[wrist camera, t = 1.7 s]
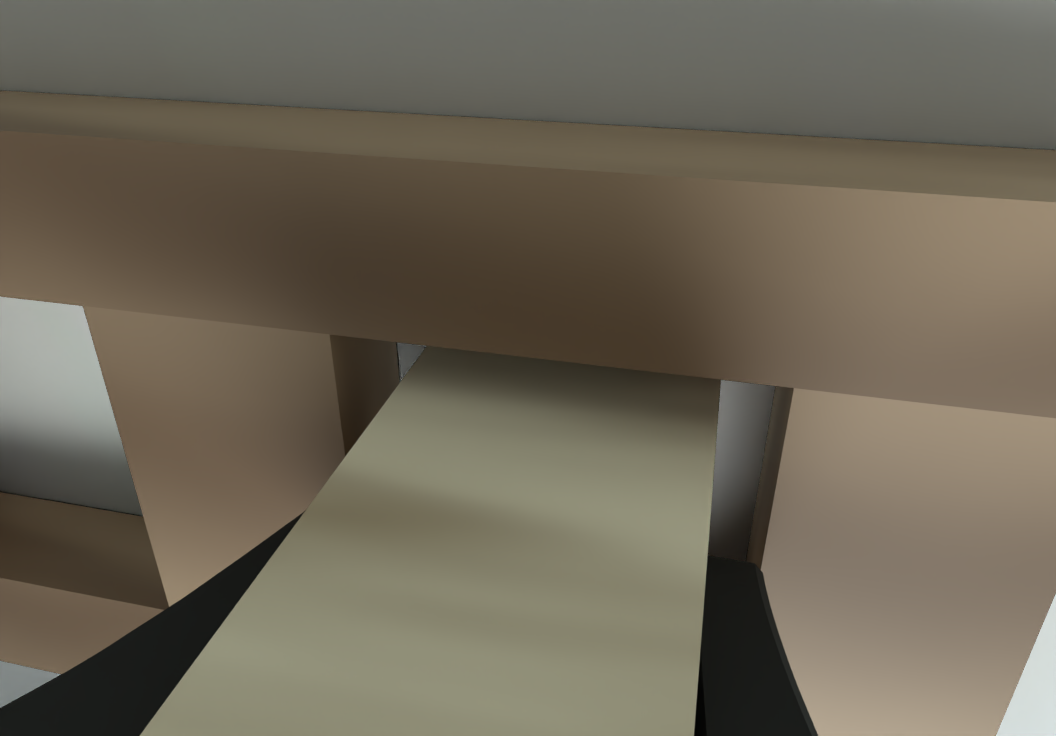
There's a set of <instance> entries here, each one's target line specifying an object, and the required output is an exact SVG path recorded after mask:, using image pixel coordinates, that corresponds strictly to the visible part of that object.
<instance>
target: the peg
mask: <svg viewBox="0 0 1056 736" xmlns="http://www.w3.org/2000/svg"><path fill="white" fill-rule="evenodd" d="M720 385H721V380H719V379H711V378H702V377H693V376H685V375H676V374H667V373H659V372H650V371H641V370H633V369H624V368H616V367H607V366H598V365H590V364H581V363H572V362H564V361H555V360H546V359H538V358H529V357H520V356H512V355H503V354H494V353H486V352H477V351H468V350H460V349H451V348H442V347H434V346H427V347H426V348H425V349H424V351H423V352H422V353H421V355H420V356H419V357H418V359H417V360H416V362H415V363H414V364H413V366H412V367H411V368H410V370H409V371H408V372H407V374H406V375H405V376H404V378H403V379H402V381H401V382H400V383H399V385H398V386H397V387H396V389H395V390H394V391H393V393H392V394H391V395H390V397H389V398H388V400H387V401H386V402H385V404H384V405H383V406H382V408H381V409H380V410H379V412H378V413H377V414H376V416H375V417H374V418H373V420H372V421H371V423H370V424H369V425H368V427H367V428H366V429H365V431H364V432H363V433H362V435H361V436H360V437H359V439H358V440H357V442H356V443H355V444H354V446H353V447H352V448H351V450H350V451H349V452H348V454H347V455H346V456H345V458H344V459H343V461H342V462H341V463H340V465H339V466H338V467H337V469H336V470H335V471H334V473H333V474H332V475H331V477H330V478H329V480H328V481H327V482H326V484H325V485H324V486H323V488H322V489H321V490H320V492H319V493H318V494H317V496H316V497H315V499H314V500H313V501H312V503H311V504H310V505H309V507H308V508H307V509H306V511H305V512H304V513H303V515H302V516H301V518H300V519H299V520H298V522H297V523H296V524H295V526H294V527H293V528H292V530H291V531H290V532H289V534H288V535H287V536H286V538H285V539H284V541H283V542H282V543H281V545H280V546H279V547H278V549H277V550H276V551H275V553H274V554H273V555H272V557H271V558H270V560H269V561H268V562H267V564H266V565H265V566H264V568H263V569H262V570H261V572H260V573H259V574H258V576H257V577H256V579H255V580H254V581H253V583H252V584H251V585H250V587H249V588H248V589H247V591H246V592H245V593H244V595H243V596H242V598H241V599H240V600H239V602H238V603H237V604H236V606H235V607H234V608H233V610H232V611H231V612H230V614H229V615H228V617H227V618H226V619H225V621H224V622H223V623H222V625H221V626H220V627H219V629H218V630H217V631H216V633H215V634H214V636H213V637H212V638H211V640H210V641H209V642H208V644H207V645H206V646H205V648H204V649H203V650H202V652H201V653H200V654H199V656H198V657H197V659H196V660H195V661H194V663H193V664H192V665H191V667H190V668H189V669H188V671H187V672H186V673H185V675H184V676H183V678H182V679H181V680H180V682H179V683H178V684H177V686H176V687H175V688H174V690H173V691H172V692H171V694H170V695H169V697H168V698H167V699H166V701H165V702H164V703H163V705H162V706H161V707H160V709H159V710H158V711H157V713H156V714H155V716H154V717H153V718H152V720H151V721H150V722H149V724H148V725H147V726H146V728H145V729H144V730H143V732H142V733H141V735H140V736H694V728H695V715H696V702H697V689H698V675H699V662H700V649H701V636H702V622H703V609H704V596H705V583H706V570H707V556H708V543H709V530H710V517H711V504H712V490H713V477H714V464H715V451H716V438H717V424H718V411H719V398H720Z"/></svg>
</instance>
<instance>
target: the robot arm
mask: <svg viewBox="0 0 1056 736" xmlns="http://www.w3.org/2000/svg"><path fill="white" fill-rule="evenodd" d="M304 512H305V511H304ZM304 512H303V513H304ZM303 513H301V514H300V515H299V516H297V517H296V518H294V519H293V520H292V521H290V522H289V523H288V524H286V525H285V526H283V527H282V528H281V529H279V530H278V531H277V532H275V533H274V534H272V535H271V536H270V537H268V538H267V539H266V540H264V541H263V542H261V543H260V544H259V545H257V546H256V547H255V548H253V549H252V550H250V551H249V552H248V553H246V554H245V555H243V556H242V557H241V558H239V559H238V560H236V561H235V562H234V563H232V564H231V565H229V566H228V567H226V568H225V569H224V570H222V571H221V572H219V573H218V574H216V575H215V576H214V577H212V578H211V579H209V580H208V581H207V582H205V583H204V584H202V585H201V586H199V587H198V588H197V589H195V590H194V591H192V592H191V593H189V594H188V595H187V596H185V597H184V598H182V599H181V600H179V601H178V602H176V603H174V604H173V605H171V606H170V607H168V608H167V609H165V610H164V611H162V612H161V613H159V614H157V615H156V616H154V617H153V618H151V619H150V620H148V621H147V622H145V623H143V624H142V625H140V626H139V627H137V628H136V629H134V630H133V631H131V632H130V633H128V634H126V635H125V636H123V637H122V638H120V639H119V640H117V641H116V642H114V643H112V644H111V645H109V646H108V647H106V648H105V649H103V650H102V651H100V652H98V653H97V654H95V655H93V656H92V657H90V658H88V659H87V660H85V661H83V662H82V663H80V664H78V665H77V666H75V667H73V668H72V669H70V670H68V671H66V672H65V673H63V674H61V675H59V676H58V677H56V678H54V679H53V680H51V681H49V682H47V683H45V684H44V685H42V686H40V687H38V688H36V689H34V690H33V691H31V692H29V693H27V694H25V695H24V696H22V697H20V698H18V699H16V700H14V701H13V702H11V703H9V704H7V705H5V706H3V707H2V708H0V736H140V735H141V733H142V732H143V730H144V729H145V728H146V726H147V725H148V724H149V722H150V721H151V720H152V718H153V717H154V716H155V714H156V713H157V711H158V710H159V709H160V707H161V706H162V705H163V703H164V702H165V701H166V699H167V698H168V697H169V695H170V694H171V692H172V691H173V690H174V688H175V687H176V686H177V684H178V683H179V682H180V680H181V679H182V678H183V676H184V675H185V673H186V672H187V671H188V669H189V668H190V667H191V665H192V664H193V663H194V661H195V660H196V659H197V657H198V656H199V654H200V653H201V652H202V650H203V649H204V648H205V646H206V645H207V644H208V642H209V641H210V640H211V638H212V637H213V636H214V634H215V633H216V631H217V630H218V629H219V627H220V626H221V625H222V623H223V622H224V621H225V619H226V618H227V617H228V615H229V614H230V612H231V611H232V610H233V608H234V607H235V606H236V604H237V603H238V602H239V600H240V599H241V598H242V596H243V595H244V593H245V592H246V591H247V589H248V588H249V587H250V585H251V584H252V583H253V581H254V580H255V579H256V577H257V576H258V574H259V573H260V572H261V570H262V569H263V568H264V566H265V565H266V564H267V562H268V561H269V560H270V558H271V557H272V555H273V554H274V553H275V551H276V550H277V549H278V547H279V546H280V545H281V543H282V542H283V541H284V539H285V538H286V536H287V535H288V534H289V532H290V531H291V530H292V528H293V527H294V526H295V524H296V523H297V522H298V520H299V519H300V518H301V516H302V515H303ZM694 736H818V734H817V731H816V729H815V727H814V724H813V722H812V719H811V717H810V715H809V712H808V710H807V707H806V705H805V702H804V700H803V698H802V695H801V693H800V690H799V688H798V685H797V683H796V680H795V678H794V675H793V672H792V670H791V667H790V664H789V661H788V659H787V656H786V653H785V650H784V647H783V644H782V641H781V638H780V635H779V632H778V629H777V626H776V623H775V620H774V616H773V613H772V609H771V606H770V602H769V598H768V594H767V590H766V586H765V581H764V575H763V572H762V571H761V570H760V569H759V568H758V566H757V565H756V564H755V563H750V562H744V561H738V560H731V559H725V558H719V557H712V556H707V570H706V583H705V596H704V609H703V622H702V636H701V649H700V662H699V675H698V689H697V702H696V715H695V728H694Z"/></svg>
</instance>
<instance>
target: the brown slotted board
mask: <svg viewBox="0 0 1056 736" xmlns="http://www.w3.org/2000/svg"><path fill="white" fill-rule="evenodd" d="M0 296H1V297H10V298H18V299H27V300H36V301H44V302H53V303H62V304H70V305H79V306H83V308H84V312H85V315H86V319H87V322H88V326H89V329H90V333H91V336H92V340H93V343H94V347H95V350H96V354H97V357H98V361H99V364H100V368H101V371H102V375H103V378H104V382H105V385H106V389H107V392H108V395H109V399H110V402H111V406H112V409H113V413H114V416H115V420H116V423H117V427H118V430H119V434H120V437H121V441H122V444H123V448H124V451H125V455H126V458H127V462H128V465H129V469H130V472H131V476H132V479H133V483H134V486H135V490H136V493H137V497H138V500H139V504H140V507H141V510H142V514H143V517H142V516H136V515H130V514H124V513H119V512H113V511H107V510H101V509H95V508H90V507H84V506H78V505H72V504H66V503H60V502H55V501H49V500H43V499H37V498H31V497H25V496H20V495H14V494H8V493H2V492H0V661H4V662H8V663H13V664H18V665H22V666H27V667H31V668H36V669H40V670H45V671H49V672H54V673H58V674H63V673H65V672H66V671H68V670H70V669H72V668H73V667H75V666H77V665H78V664H80V663H82V662H83V661H85V660H87V659H88V658H90V657H92V656H93V655H95V654H97V653H98V652H100V651H102V650H103V649H105V648H106V647H108V646H109V645H111V644H112V643H114V642H116V641H117V640H119V639H120V638H122V637H123V636H125V635H126V634H128V633H130V632H131V631H133V630H134V629H136V628H137V627H139V626H140V625H142V624H143V623H145V622H147V621H148V620H150V619H151V618H153V617H154V616H156V615H157V614H159V613H161V612H162V611H164V610H165V609H167V608H168V607H170V606H171V605H173V604H174V603H176V602H178V601H179V600H181V599H182V598H184V597H185V596H187V595H188V594H189V593H191V592H192V591H194V590H195V589H197V588H198V587H199V586H201V585H202V584H204V583H205V582H207V581H208V580H209V579H211V578H212V577H214V576H215V575H216V574H218V573H219V572H221V571H222V570H224V569H225V568H226V567H228V566H229V565H231V564H232V563H234V562H235V561H236V560H238V559H239V558H241V557H242V556H243V555H245V554H246V553H248V552H249V551H250V550H252V549H253V548H255V547H256V546H257V545H259V544H260V543H261V542H263V541H264V540H266V539H267V538H268V537H270V536H271V535H272V534H274V533H275V532H277V531H278V530H279V529H281V528H282V527H283V526H285V525H286V524H288V523H289V522H290V521H292V520H293V519H294V518H296V517H297V516H299V515H300V514H301V513H303V512H304V511H306V509H307V508H308V507H309V505H310V504H311V503H312V501H313V500H314V499H315V497H316V496H317V494H318V493H319V492H320V490H321V489H322V488H323V486H324V485H325V484H326V482H327V481H328V480H329V478H330V477H331V475H332V474H333V473H334V471H335V470H336V469H337V467H338V466H339V465H340V463H341V462H342V461H343V459H344V458H345V456H346V455H347V454H348V452H349V451H350V450H351V448H352V447H353V446H354V444H355V443H356V442H357V440H358V439H359V437H360V436H361V435H362V433H363V432H364V431H365V429H366V428H367V427H368V425H369V424H370V423H371V421H372V420H373V418H374V417H375V416H376V414H377V413H378V412H379V410H380V409H381V408H382V406H383V405H384V404H385V402H386V401H387V400H388V398H389V397H390V395H391V394H392V393H393V391H394V390H395V389H396V387H397V386H398V385H399V383H400V382H399V370H398V359H397V347H396V342H399V343H408V344H417V345H425V346H434V347H442V348H451V349H460V350H468V351H477V352H486V353H494V354H503V355H512V356H520V357H529V358H538V359H546V360H555V361H564V362H572V363H581V364H590V365H598V366H607V367H616V368H624V369H633V370H641V371H650V372H659V373H667V374H676V375H685V376H693V377H702V378H711V379H719V380H728V381H737V382H745V383H754V384H763V385H771V386H775V392H774V398H773V404H772V410H771V416H770V422H769V428H768V433H767V439H766V445H765V451H764V457H763V463H762V469H761V475H760V481H759V486H758V492H757V498H756V504H755V510H754V516H753V522H752V528H751V533H750V539H749V545H748V551H747V557H746V562H750V563H755V564H756V565H757V566H758V568H759V569H760V570H761V571H762V572H763V575H764V581H765V586H766V590H767V594H768V598H769V602H770V606H771V609H772V613H773V616H774V620H775V623H776V626H777V629H778V632H779V635H780V638H781V641H782V644H783V647H784V650H785V653H786V656H787V659H788V661H789V664H790V667H791V670H792V672H793V675H794V678H795V680H796V683H797V685H798V688H799V690H800V693H801V695H802V698H803V700H804V702H805V705H806V707H807V710H808V712H809V715H810V717H811V719H812V722H813V724H814V727H815V729H816V731H817V734H818V736H996V734H997V732H998V729H999V727H1000V724H1001V722H1002V720H1003V717H1004V715H1005V713H1006V710H1007V708H1008V705H1009V703H1010V701H1011V698H1012V696H1013V694H1014V691H1015V689H1016V686H1017V684H1018V682H1019V679H1020V677H1021V674H1022V672H1023V670H1024V667H1025V665H1026V663H1027V660H1028V658H1029V655H1030V653H1031V651H1032V648H1033V646H1034V644H1035V641H1036V639H1037V636H1038V634H1039V632H1040V629H1041V627H1042V625H1043V622H1044V620H1045V617H1046V615H1047V613H1048V610H1049V608H1050V606H1051V603H1052V601H1053V598H1054V596H1055V594H1056V150H1043V149H1026V148H1008V147H990V146H973V145H955V144H937V143H920V142H902V141H884V140H867V139H849V138H831V137H814V136H796V135H778V134H760V133H743V132H725V131H707V130H690V129H672V128H654V127H637V126H619V125H601V124H584V123H566V122H548V121H531V120H513V119H495V118H478V117H460V116H442V115H424V114H407V113H389V112H371V111H354V110H336V109H318V108H301V107H283V106H265V105H248V104H230V103H212V102H195V101H177V100H159V99H142V98H124V97H106V96H88V95H71V94H53V93H35V92H18V91H0Z"/></svg>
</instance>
